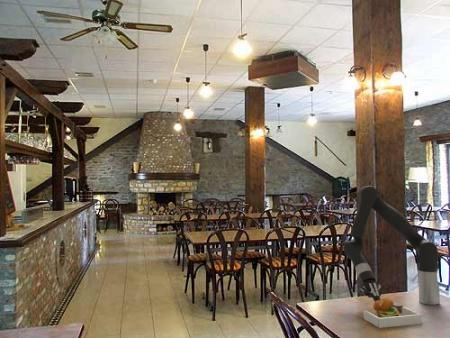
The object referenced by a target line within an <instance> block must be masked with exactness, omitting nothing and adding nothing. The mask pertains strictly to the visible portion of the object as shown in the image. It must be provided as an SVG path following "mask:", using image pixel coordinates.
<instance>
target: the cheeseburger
mask: <svg viewBox="0 0 450 338" xmlns="http://www.w3.org/2000/svg"><path fill="white" fill-rule="evenodd" d="M380 299H381V298H380ZM393 302H394V301H393V300H392V299H390V298H387V297H386V298H382V299H381V300H378V301H373V309H374V310H375V313H376V316H377V317H379V318H385V317H395V316H400V312H398V311H397V309H396V308H394V306H392V305H393Z"/></svg>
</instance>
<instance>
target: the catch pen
mask: <svg viewBox="0 0 450 338" xmlns="http://www.w3.org/2000/svg"><path fill="white" fill-rule="evenodd" d="M401 313H402V315H399V316H395V317H385V318H380V317H379V316H378V315H375V314H374V313H372V312H370V311H368V310H366V309H363V319H364V320H365V321H367V322H369V323H371V324H372V325H374V326H375V327H377V328H378V329H382V328H391V327H403V326H411V325H422V324H423V315H422V314H421V313H419V312H417V311H415V310H412V309H410V308H408V307H406V306H403V307H402V312H401Z"/></svg>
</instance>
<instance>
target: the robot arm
mask: <svg viewBox="0 0 450 338" xmlns="http://www.w3.org/2000/svg"><path fill="white" fill-rule="evenodd" d="M358 197H359V199H360V203H359V208H358V211H357V212H356V213H357V214H356V215H355V218H354V220H353V222H352V225H351V229H350V234H349V235H350V236H351V237H352V238H353V241H351V240H347V241H345V242H344V243H343V251H344V253H345V255H346V256H347V258H348V260H350V261H351V262H352V264H353V267H354V269H355V272H356V275H357V277H358V278H359V281H360V284H361V286H362V287H360V289H359V291H360V292H361V293H362V294H364V295H365V296H366V297H368V298H369V299H370V298H372V299H373V302H375V301H378V300H381V296H382V295H383V290H384V285H380V284H379V283H378V282H377V279H376V277H375V275H374V273H373V271H372V269H371V267H370V265H369V263H368V261H367V259H366V257H365V256H364V255H362V253H363V250H364V235H365V232H366V228H367V225H368V220H369V217H370V214H371V212H372V210H373V211H375V213H377V215H378V216H379V217H380V218H381V219H382V220H383V221H384V222H385V223H386V225H388V226H389V228H391V229H392V230H393V231H394V232H395V233H397V234H398V235H399V236H400V237H402V238H403V239H404V240H405V241H406V242H408V244H409V245H410V246H411V247H412V248H413V250H414V251H415V252H416V253H417V254H418V255H419V259H418V260H419V263H418V264H417V279H418V280H417V281H418V282H417V285H418V286H417V287H418V302H419V303H420V304H423V305H428V306H429V305H430V306H435V305H439V304H440V303H441V299H440V298H441V295H440V285H439V284H438V266H439V250H438V247H437V245H436V244H435V243H434V242H432V241H430V240H428V239H426V238H425V237H424V236H423V235H421V234H420V233H419V232H418V231H417V230H416V229H415V228H414V227H413V225H412V224H411V223H410V221H409V220H408V219H407V218H406V217H405V216H404V215H403V214H402V213H401V212H399V210H397V209H396V208H395V207H393V206H391V205H390V204H388V203H387V202H385V201H384V200H383V199H382V198H381V196H379V193H378V190H377V189H376V188H375V187H374V186H372V185H367V186H362V187H361V188H360V189H359V191H358Z"/></svg>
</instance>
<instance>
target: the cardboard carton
mask: <svg viewBox="0 0 450 338" xmlns="http://www.w3.org/2000/svg"><path fill="white" fill-rule="evenodd" d="M392 302H393V305H392V306H394V308H396V309H397V311H398V313H402V307H404V305H403V304H401V303H399V302H397V301H392Z"/></svg>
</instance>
